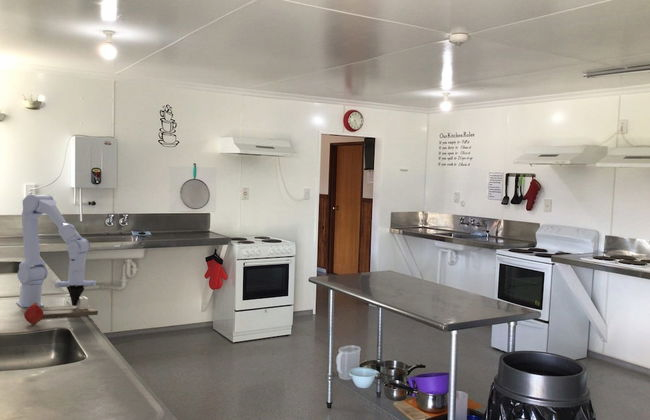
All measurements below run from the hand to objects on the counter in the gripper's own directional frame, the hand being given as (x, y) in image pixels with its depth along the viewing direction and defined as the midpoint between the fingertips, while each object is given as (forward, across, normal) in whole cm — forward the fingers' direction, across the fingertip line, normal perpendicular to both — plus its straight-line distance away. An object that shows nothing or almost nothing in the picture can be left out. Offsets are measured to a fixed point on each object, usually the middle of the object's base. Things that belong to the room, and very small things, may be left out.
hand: (74, 305), depth 216 cm
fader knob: (+1, +3, 0) cm, 3 cm away
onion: (+3, -17, -14) cm, 22 cm away
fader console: (+3, -3, 0) cm, 4 cm away
